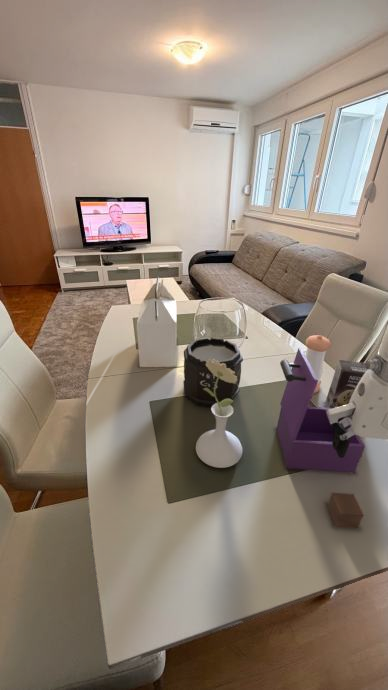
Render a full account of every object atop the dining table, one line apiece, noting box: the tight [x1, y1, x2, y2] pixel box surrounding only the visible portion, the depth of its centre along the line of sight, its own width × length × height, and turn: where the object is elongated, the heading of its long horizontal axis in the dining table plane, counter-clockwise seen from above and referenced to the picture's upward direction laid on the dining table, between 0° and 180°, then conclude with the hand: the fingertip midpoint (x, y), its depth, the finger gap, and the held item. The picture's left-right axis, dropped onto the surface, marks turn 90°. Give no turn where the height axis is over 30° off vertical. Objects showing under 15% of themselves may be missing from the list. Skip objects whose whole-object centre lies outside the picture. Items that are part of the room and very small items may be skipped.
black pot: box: [183, 337, 244, 408], centre depth 92 cm, size 18×18×16 cm
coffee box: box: [324, 359, 368, 408], centre depth 84 cm, size 9×6×16 cm
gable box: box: [136, 276, 178, 368], centre depth 110 cm, size 22×13×28 cm, turn 3°
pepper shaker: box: [305, 334, 331, 394], centre depth 94 cm, size 7×7×19 cm
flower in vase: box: [195, 359, 243, 469], centre depth 68 cm, size 13×11×25 cm
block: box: [326, 492, 364, 529], centre depth 59 cm, size 4×4×4 cm
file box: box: [276, 406, 366, 474], centre depth 73 cm, size 16×13×9 cm
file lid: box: [279, 347, 318, 441], centre depth 67 cm, size 16×13×5 cm
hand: (366, 453), depth 51 cm, fingers open, 9 cm apart
